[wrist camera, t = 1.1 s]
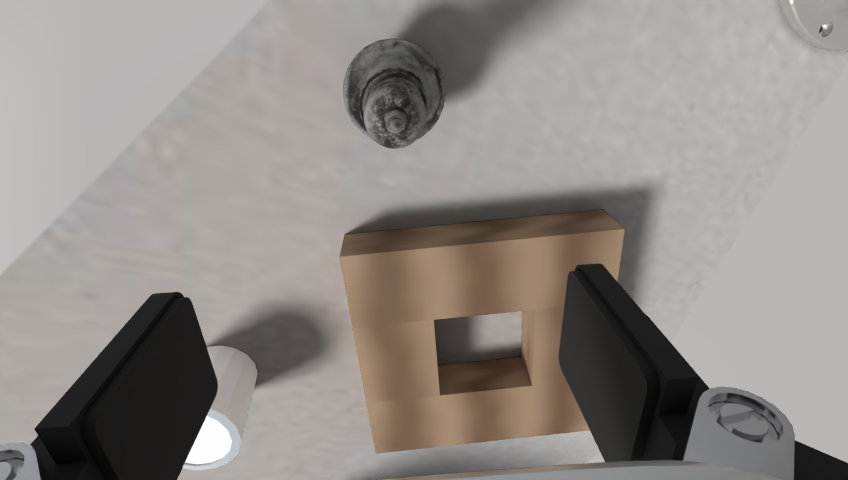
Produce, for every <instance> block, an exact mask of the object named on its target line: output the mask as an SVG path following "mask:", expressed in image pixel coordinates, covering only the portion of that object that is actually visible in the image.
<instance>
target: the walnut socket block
mask: <svg viewBox="0 0 848 480" xmlns="http://www.w3.org/2000/svg"><path fill="white" fill-rule="evenodd" d="M624 231H625V229H624V228H623V227H622V226H621V225H620V224H619V223H618V222H617V221H615V220H614V219H613V218H612V217H611V216H610V215H609V214H608V213H607V212H605V211H604V210H593V211H583V212H573V213H562V214H552V215H541V216H531V217H521V218H510V219H500V220H490V221H479V222H469V223H459V224H448V225H438V226H428V227H417V228H407V229H397V230H386V231H376V232H365V233H355V234H345V235H344V239H343V244H342V249H341V253H340V261H341V267H342V272H343V278H344V283H345V289H346V294H347V299H348V305H349V310H350V316H351V321H352V327H353V332H354V338H355V343H356V349H357V354H358V360H359V365H360V371H361V376H362V381H363V387H364V392H365V398H366V403H367V409H368V414H369V420H370V425H371V431H372V436H373V442H374V447H375V452H376V453H385V452H394V451H403V450H412V449H422V448H431V447H440V446H449V445H458V444H468V443H477V442H486V441H495V440H505V439H514V438H523V437H532V436H542V435H551V434H560V433H569V432H578V431H588V430H590V429H589V427H588V425H587V423H586V421H585V419H584V416H583V414H582V412H581V410H580V408H579V406H578V404H577V402H576V400H575V398H574V395H573V393H572V391H571V389H570V387H569V385H568V383H567V381H566V379H565V377H564V374H563V372H562V370H561V368H560V364H559V346H560V338H561V330H562V321H563V313H564V304H565V296H566V287H567V279H568V274H569V272H570V271H575V268H576V266H577V265H582V264H597V263H600V264H602V265H604V267H605V268H606V269H607V270H608V271H609V273H610V274H611V275H612V276H613V277H614V278H615V280H616V281H617V282H618V275H619V268H620V260H621V253H622V246H623V239H624ZM516 311H522V343H521V357H516V358H506V359H497V360H487V361H477V362H468V363H458V364H449V365H439V366H437V353H436V341H435V329H434V320H437V319H447V318H457V317H467V316H477V315H487V314H497V313H506V312H516Z"/></svg>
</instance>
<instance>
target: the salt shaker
mask: <svg viewBox="0 0 848 480" xmlns="http://www.w3.org/2000/svg"><path fill="white" fill-rule="evenodd" d="M343 97H344V102H345V106H346V110H347V112H348V114H349V116H350V118H351V120H352V122H353V123H354V124H355V125H356V126H357V127H358V129H359V130H360V131H361V132H362V133H364V134H365V135H367V136H368V137H370V138H371V139H373V140H374V141H376V142H377V143H379V144H380V145H382V146H385V147H387V148H395V149H397V148H403V147H405V146H408V145H410V144H411V143H413V142H414V141H415V140H416V139H419V138H421V137H422V136H423V135H424V134H426V133H427V132H428V131H429V130H431V128H432V127H433V126H434V124H435V123H436V122H437V120H438V119H439V116H440V114H441V111H442V109H443V106H444V98H445V87H444V79H443V77H442V74H441V72H440V69H439V66H438V65H437V64H436V62H435V61H434V59H433V58H432V57H431V55H430V54H429V53H427V52H426V51H425V50H424V49H422V48H421V47H420V46H418V45H416V44H414V43H411V42H409V41H407V40H401V39H393V38H392V39H386V40H380V41H377V42H375V43H373V44H370V45H368V46H366V47H365V48H364V49H363V50H362V51H361V52H359V53H358V54H357V55H356V56H355V57H354V59H353V61H352V62H351V64H350V65H349V67H348V69H347V72H346V76H345V79H344V87H343Z"/></svg>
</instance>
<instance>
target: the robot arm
mask: <svg viewBox="0 0 848 480" xmlns="http://www.w3.org/2000/svg"><path fill="white" fill-rule="evenodd" d="M780 4H781V8H782V11H783V14H784V16H785V18H786V20H787V21H788V23H789V25H790V27H791V28H792V29H793V30H794V32H795V33H796V34H797V35H798V36H799V37H800V38H801V39H802V40H804V41H806V42H808V43H809V44H811V45H813V46H815V47H818V48H822V49H825V50H829V51H841V52H848V0H780ZM559 364H560V368H561V370H562V372H563V374H564V377H565V379H566V381H567V383H568V385H569V387H570V389H571V391H572V393H573V395H574V398H575V400H576V402H577V404H578V406H579V408H580V410H581V412H582V414H583V416H584V419H585V421H586V423H587V425H588V427H589V429H590V431H591V433H592V435H593V437H594V439H595V442H596V444H597V446H598V448H599V450H600V452H601V454H602V456H603V458H604V460H605V462H603V463H587V464H571V465H555V466H541V467H529V468H516V469H503V470H490V471H478V472H465V473H452V474H439V475H427V476H415V477H403V478H391V479H379V480H848V463H846V462H844V461H841V460H839V459H837V458H834V457H832V456H830V455H828V454H825V453H823V452H820V451H818V450H816V449H814V448H811V447H809V446H806V445H804V444H802V443H800V442H797V441H795V438H794V437H795V435H794V431H793V427H792V424H791V423H790V422H789V420H788V419H787V417H786V416H785V415H784V414H783V413H782V412H781V411H780V410H779V409H778V408H777V407H775V406H774V405H773V404H771V403H769V402H768V401H766V400H765V399H763V398H762V397H759V396H756V395H755V394H752V393H750V392H748V391H744V390H740V389H737V388H730V387H716V388H711V389H709V387H708V386H707V385H706V384H705V383H704V381H703V380H702V379H701V378H700V377H699V376H698V375H697V373H696V372H695V371H694V370H693V369H692V367H691V366H690V365H689V364H688V363H687V362H686V361H685V359H684V358H683V357H682V356H681V355H680V353H679V352H678V351H677V350H676V349H675V347H674V346H673V345H672V344H671V343H670V342H669V340H668V339H667V338H666V337H665V336H664V335H663V333H662V332H661V331H660V330H659V329H658V328H657V326H656V325H655V324H654V323H653V322H652V321H651V319H650V318H649V317H648V316H647V315H646V314H644V313H643V311H642V310H641V309H640V308H639V307H638V306H637V304H636V303H635V302H634V301H633V300H632V299H631V297H630V296H629V295H628V294H627V293H626V291H625V290H624V289H623V288H622V287H621V286H620V284H619V283H618V282H617V281H616V280H615V278H614V277H613V276H612V275H611V274H610V273H609V271H608V270H607V269H606V268H605V267H604V265H602V264H600V263H597V264H582V265H577V266H576V268H575V271H570V272H569V274H568V279H567V287H566V296H565V304H564V313H563V321H562V330H561V338H560V346H559ZM217 391H218V381H217V378H216V374H215V371H214V368H213V365H212V362H211V359H210V356H209V353H208V350H207V347H206V344H205V341H204V338H203V335H202V332H201V329H200V326H199V323H198V320H197V317H196V314H195V311H194V308H193V305H192V302H191V300H190V299H189V298H187V297H184V296H183V295H182V294H181V293H179V292H171V293H156V294H152V295H151V296H150V297H149V298H148V299H147V300H146V302H145V303H144V304H143V305H142V306H141V307H140V308H139V310H138V311H137V312H136V313H135V314H134V315H133V316H132V318H131V319H130V320H129V321H128V322H127V323H126V324H125V326H124V327H123V328H122V329H121V330H120V331H119V333H118V334H117V335H116V336H115V337H114V338H113V339H112V341H111V342H110V343H109V344H108V345H107V346H106V347H105V349H104V350H103V351H102V352H101V353H100V354H99V355H98V357H97V358H96V359H95V360H94V361H93V362H92V363H91V365H90V366H89V367H88V368H87V369H86V370H85V371H84V373H83V374H82V375H81V376H80V377H79V378H78V379H77V381H76V382H75V383H74V384H73V385H72V386H71V388H70V389H69V390H68V391H67V392H66V393H65V394H64V396H63V397H62V398H61V399H60V400H59V401H58V402H57V404H56V405H55V406H54V407H53V408H52V409H51V410H50V412H49V413H48V414H47V415H46V416H45V417H44V418H43V420H42V421H41V422H40V423H39V424H38V425H37V426H36V428H35V431H36V432H37V434H38V436H37V438H36V439H35V440H34V441H33V442H32V444H31V445H28V444H26V443H8V444H4V445H0V480H177V478H178V476H179V474H180V472H181V470H182V468H183V466H184V463H185V461H186V459H187V457H188V455H189V453H190V451H191V448H192V446H193V444H194V442H195V440H196V438H197V436H198V434H199V431H200V429H201V427H202V425H203V423H204V421H205V419H206V416H207V414H208V412H209V410H210V408H211V406H212V404H213V401H214V399H215V397H216V395H217Z"/></svg>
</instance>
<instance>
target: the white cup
mask: <svg viewBox="0 0 848 480" xmlns="http://www.w3.org/2000/svg"><path fill="white" fill-rule="evenodd" d="M207 350H208V353H209V356H210V359H211V362H212V365H213V368H214V371H215V374H216V378H217V381H218V391H217V395H216V397H215V399H214V401H213V404H212V406H211V408H210V410H209V412H208V414H207V416H206V419H205V421H204V423H203V425H202V427H201V429H200V431H199V434H198V436H197V438H196V440H195V442H194V444H193V446H192V448H191V451H190V453H189V455H188V457H187V459H186V461H185V463H184V466H183V468H184V469H191V470H204V469H214V468H217V467H219V466H221V465H224V464H226V463H228V462H230V461H231V460H232V459H233V458H234V457H235V456H236V454H237V453H238V452H239V448H240V444H241V440H242V436H243V432H244V428H245V424H246V420H247V416H248V412H249V407H250V403H251V399H252V395H253V391H254V387H255V383H256V379H257V374H258V372H257V369H256V366H255V363H254V362H253V361H252V360H251V359H250V357H249V356H248V355H247V354H245V353H243V352H241V351H240V350H238V349H236V348H232V347H227V346H222V345H221V346H210V347H207Z"/></svg>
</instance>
